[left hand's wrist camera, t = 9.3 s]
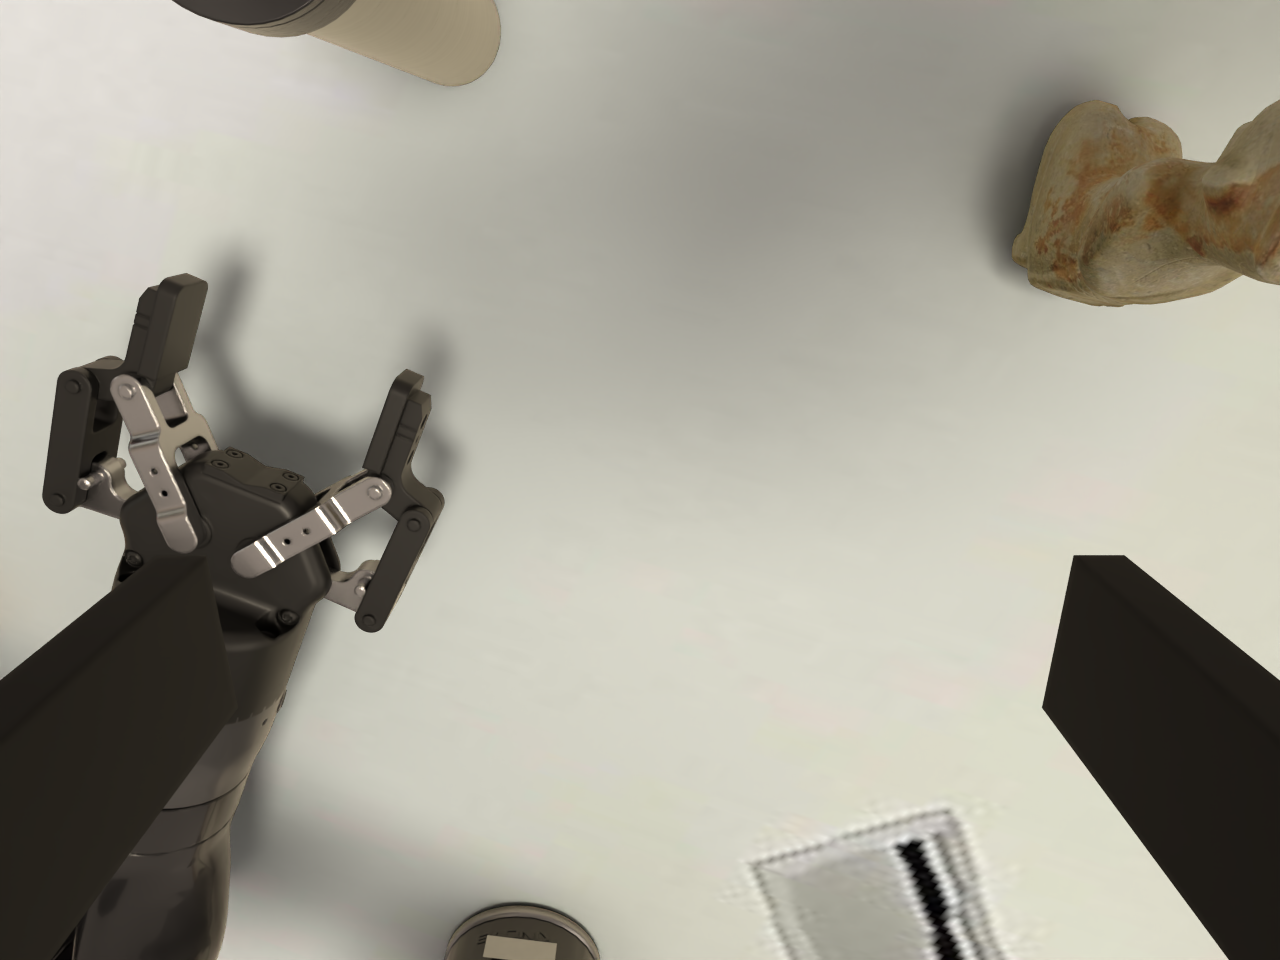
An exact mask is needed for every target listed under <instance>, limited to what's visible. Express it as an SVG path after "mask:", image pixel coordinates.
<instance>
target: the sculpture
mask: <svg viewBox="0 0 1280 960" xmlns="http://www.w3.org/2000/svg"><path fill="white" fill-rule="evenodd" d="M1012 258H1013V260H1014V261H1015V262H1016V263H1017V264H1019V265H1020V266H1022V267H1025V268H1027V269H1028V280H1029V282H1030V284H1031V285H1033V286H1034V287H1036V288H1038V289H1041V290H1043V291H1046V292H1049V293H1051V294H1054V295H1056V296H1059V297H1062V298H1066V299H1070V300H1073V301H1077V302H1081V303H1085V304H1088V305H1093V306H1108V307H1109V306H1112V307H1122V306H1124V305H1129V304H1158V303H1166V302H1170V301H1175V300H1180V299H1185V298H1190V297H1195V296H1199V295H1203V294H1206V293H1210V292H1213V291H1215V290H1217V289H1219V288H1221V287H1223V286H1224V285H1226V284H1228V283H1230V282H1231V281H1233V280H1235V279H1236V278H1238V277H1240V276H1241V275H1245V276H1248V277H1250V278H1253V279H1255V280H1258V281H1261V282H1265V283H1270V284H1276V285H1280V100H1278V101H1276V102H1275V103H1273V104H1271V105H1270V106H1268V107H1266V108H1265V109H1264V110H1263V111H1262V112H1261V113H1260V114H1259V115H1258V116H1257V117H1256V118H1255V119H1254V120H1253V121H1251V122H1248V123H1245V124H1243V125H1242V126H1240V127H1239V128H1238V129H1237V130H1236V132H1235V133H1234V135H1233V136H1232V138H1231V140H1230V141H1229V143H1228V145H1227V146H1226V148H1225V149H1224V151H1223V153H1222V154H1221V156H1220V157H1219V159H1218V160H1217V162H1216V163H1205V162H1198V161H1191V160H1186V159H1182V148H1181V142H1180V140H1179V138H1178V136H1177V135H1176V134H1175V133H1174V131H1173V130H1172V129H1171V128H1169V127H1168V126H1167V125H1166V124H1164V123H1162V122H1159V121H1157V120H1155V119H1152V118H1149V117H1136V118H1131V119H1129V120H1127V119H1126V118H1125V117H1124V116H1123V114H1122V113H1121V112H1120V110H1119V108H1118V107H1117V106H1116V105H1113V104H1109V103H1106V102H1103V101H1099V100H1093V101H1089V102H1085V103H1082V104H1080V105H1077V106H1076V107H1074V108H1073V109H1072V110H1070V111H1069V112H1068V113H1067V114H1066V115H1065V116H1064V117H1063V118H1062V119H1061V121H1060V122H1059V123H1058V124H1057V126H1056V127H1055V129H1054V130H1053V132H1052V134H1051V135H1050V137H1049V140H1048V142H1047V144H1046V147H1045V149H1044V152H1043V156H1042V159H1041V163H1040V166H1039V170H1038V173H1037V177H1036V181H1035V184H1034V188H1033V192H1032V197H1031V203H1030V208H1029V212H1028V216H1027V219H1026V223H1025V226H1024V229H1023V231H1022V233H1020V234H1018V235H1017V236H1016V238H1015V239H1014V243H1013V247H1012Z"/></svg>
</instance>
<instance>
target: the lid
mask: <svg viewBox="0 0 1280 960" xmlns="http://www.w3.org/2000/svg"><path fill="white" fill-rule="evenodd" d="M172 1H174V2H175V3H177V4H178V5H180V6H181V7H183V8H185V9H187V10H189V11H191V12H193V13H195V14H197V15H199V16H202V17H205V18H207V19H210V20H213V21H216V22H219V23H222V24H225V25H228V26H231V27H234V28H237V29H240V30H243V31H246V32H249V33H253V34H257V35H262V36H268V37H292V36H299V35H303V34H307V33H311V32H313V31H316V30H318V29H321V28H323V27H325V26H327V25H328V24H330V23H332V22H333V21H335V20H336V19H338V18H339V17H340V16H341V15H342V14H344V13H345V12H346V11H347V10H348V9H349V8H350V7H351V6H352V5H353V3H354V2H355V1H356V0H172Z"/></svg>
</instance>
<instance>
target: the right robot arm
mask: <svg viewBox="0 0 1280 960" xmlns="http://www.w3.org/2000/svg"><path fill="white" fill-rule="evenodd" d="M207 290H208V284H207V282H206V281H204V280H202V279H199V278H197V277H195V276H192V275H190V274H188V273H184V274H180V275H176V276H172V277H167V278H165V279H164V280H163V281H162V282H161V283H160V285H157V286H153V287H148V288H147V290H146V291H145V292H144V293H143V294H142V296H141V297H140V298H139V302H138V306H137V311H136V312H137V314H136V315H135V319H134V325H133V328H132V332H131V337H130V341H129V345H128V349H127V354H126V358H125V360H124V361H123V360H122V359H120V358H118V357H115V356H106V357H103V358H100V359H98V360H96V361H95V362H92V363H89V364H86V365H83V366H80V367H75V368H72V369H69V370H66V371H64V372H62V373H61V374H60V375H59V377H58V380H57V387H56V394H55V402H54V410H53V417H52V425H51V432H50V440H49V448H48V455H47V463H46V471H45V478H44V486H43V493H42V498H43V501H44V503H45V505H46V506H47V507H48V508H49V509H50V510H52V511H53V512H56V513H59V514H66V513H68V512H70V511H72V510H74V509H75V508H77V507H84V508H87V509H90V510H93V511H96V512H99V513H102V514H105V515H108V516H111V517H114V518H117V519H120V524H121V527H122V530H123V533H124V537H125V550H124V553H123V556H122V558H121V561H120V563H119V566H118V569H117V572H116V575H115V578H114V582H113V586H112V590H113V589H115V588H116V587H117V586H118V585H119V584H121V583H122V582H123V581H124V580H126V579H127V578H128V577H129V576H131V575H132V574H133V573H134V572H136V571H137V570H138V569H139V568H141V567H142V566H143V565H144V564H146V563H147V562H148V561H149V560H151V559H152V558H153V557H154V556H155V555H206V556H207V561H208V566H209V571H210V576H211V580H212V585H213V590H214V595H215V600H216V605H217V609H218V614H219V619H220V624H221V629H222V633H223V638H224V643H225V648H226V653H227V658H228V662H229V667H230V672H231V677H232V682H233V686H234V691H235V696H236V701H237V706H238V708H237V710H236V711H235V712H234V714H233V715H232V716H231V718H230V719H229V720H228V722H227V723H226V724H225V726H224V727H223V728H222V730H221V731H220V733H219V734H218V735H217V737H216V738H215V739H214V741H213V742H212V743H211V745H210V746H209V747H208V749H207V750H206V751H205V753H204V754H203V755H202V757H201V758H200V760H199V761H198V762H197V764H196V765H195V766H194V768H193V769H192V770H191V772H190V773H189V774H188V776H187V777H186V778H185V780H184V781H183V782H182V784H181V785H180V786H179V788H178V789H177V791H176V792H175V793H174V795H173V796H172V797H171V799H170V800H169V801H168V803H167V804H166V805H165V807H164V808H163V809H162V811H161V812H160V813H159V815H158V816H157V818H156V819H155V820H154V822H153V823H152V824H151V826H150V827H149V828H148V830H147V831H146V832H145V834H144V835H143V836H142V838H141V839H140V840H139V842H138V843H137V844H136V846H135V847H134V849H133V850H132V851H131V853H130V854H129V855H128V857H127V858H126V859H125V861H124V862H123V863H122V865H121V866H120V867H119V869H118V870H117V871H116V873H115V874H114V876H113V877H112V878H111V880H110V881H109V882H108V884H107V885H106V886H105V888H104V889H103V890H102V892H101V893H100V894H99V896H98V897H97V898H96V900H95V901H94V902H93V904H92V905H91V907H90V908H89V909H88V911H87V912H86V913H85V915H84V916H83V917H82V919H81V920H80V921H79V923H78V924H77V925H76V927H75V928H74V929H73V931H72V932H71V934H70V935H69V936H68V938H67V939H66V940H65V942H64V943H63V944H62V946H61V947H60V948H59V950H58V951H57V952H56V954H55V955H54V956H53V958H52V959H51V960H217V958H218V955H219V952H220V950H221V946H222V942H223V938H224V933H225V929H226V922H227V913H228V899H229V882H230V866H231V850H230V825H231V821H232V818H233V816H234V814H235V811H236V809H237V807H238V804H239V801H240V798H241V795H242V792H243V790H244V787H245V784H246V781H247V778H248V775H249V773H250V770H251V767H252V764H253V762H254V759H255V757H256V756H257V754H258V752H259V751H260V749H261V747H262V745H263V743H264V741H265V740H266V738H267V736H268V734H269V732H270V729H271V727H272V724H273V722H274V719H275V716H276V714H277V713H278V711H279V709H280V708H281V707H282V705H283V702H284V699H285V695H286V691H287V690H286V685H287V683H288V680H289V677H290V674H291V671H292V669H293V666H294V662H295V660H296V657H297V654H298V651H299V648H300V646H301V643H302V640H303V637H304V635H305V632H306V629H307V626H308V623H309V621H310V618H311V615H312V612H313V609H314V607H315V604H316V603H317V602H319V601H320V600H322V599H323V598H326V599H328V600H330V601H333V602H335V603H337V604H339V605H342V606H344V607H346V608H348V609H351V610H353V611H355V612H356V614H355V622H356V624H357V626H358V627H359V628H360V629H361V630H363V631H365V632H370V633H373V632H377V631H379V630H380V629H381V628H382V627H383V626H384V624H385V622H386V620H387V619H388V617H389V615H390V614H391V612H392V610H393V608H394V607H395V605H396V603H397V601H398V600H399V598H400V596H401V594H402V592H403V590H404V588H405V586H406V584H407V582H408V580H409V578H410V575H411V573H412V571H413V569H414V567H415V565H416V563H417V561H418V559H419V557H420V555H421V553H422V551H423V548H424V546H425V544H426V542H427V540H428V538H429V536H430V534H431V532H432V530H433V528H434V526H435V524H436V522H437V519H438V517H439V515H440V513H441V511H442V509H443V507H444V503H445V502H444V497H443V495H442V494H441V493H440V492H439V491H438V490H437V489H434V488H431V487H427V488H426V487H425V486H424V485H423V484H422V483H420V482H419V481H418V480H417V479H416V478H415V476H414V475H413V473H412V469H411V462H412V459H413V456H414V453H415V451H416V448H417V445H418V443H419V440H420V437H421V435H422V432H423V429H424V427H425V424H426V421H427V419H428V416H429V413H430V411H431V395H429V394H427V393H425V392H422V391H420V389H421V386H422V384H423V380H424V376H422V375H420V374H418V373H415V372H413V371H411V370H408V369H406V370H405V371H403V372H402V373H401V374H400V375H399V376H397V377H396V379H395V380H394V382H393V384H392V386H391V388H390V390H389V393H388V396H387V399H386V401H385V404H384V407H383V410H382V413H381V415H380V418H379V421H378V424H377V427H376V430H375V432H374V435H373V438H372V441H371V444H370V446H369V449H368V452H367V455H366V458H365V461H364V463H363V466H362V468H364V470H362V471H360V472H359V473H357V474H355V475H353V476H348V477H345V478H344V479H342V480H340V481H338V482H336V483H334V484H332V485H331V486H329V487H327V488H325V489H323V490H321V491H319V492H318V493H316V494H314V493H313V492H312V490H311V489H310V488H309V487H308V486H307V485H306V484H304V483H303V480H304V477H303V476H301V475H298V474H296V473H293V472H291V471H288V470H285V469H279V468H273V467H267V466H265V465H263V464H262V463H260V462H259V461H257V460H256V459H254V458H253V457H251V456H250V455H249V454H246V453H244V452H241V451H239V450H236V449H234V448H232V447H229V448H227V449H226V450H224V451H223V450H219V449H218V447H217V444H216V442H215V440H214V437H213V435H212V433H211V430H210V428H209V426H208V423H207V421H206V419H205V418H204V417H203V416H202V415H201V414H198V413H196V412H195V411H194V409H193V407H192V405H191V402H190V400H189V398H188V395H187V393H186V391H185V388H184V386H183V384H182V382H181V379H180V377H179V375H178V372H179V371H181V370H184V369H186V368H187V367H188V363H189V359H190V355H191V352H192V348H193V344H194V340H195V336H196V332H197V329H198V325H199V321H200V317H201V313H202V309H203V306H204V302H205V298H206V294H207ZM123 420H124V422H125V424H126V426H127V429H128V431H129V433H130V436H131V440H130V442H129V446H128V449H129V454H130V456H131V458H132V460H133V463H134V465H135V467H136V469H137V471H138V473H139V475H140V477H141V480H142V482H143V484H144V486H145V487H144V488H143V489H142V490H140V491H135V490H134V489H132V488H131V487H130V486H129V485H128V483H127V482H126V479H125V470H124V468H125V467H126V462H125V460H123V459H122V458H116V457H117V451H118V445H119V439H120V433H121V427H122V421H123ZM178 447H180V449H181V451H182V453H183V456H184V458H185V460H186V463H184V464H182V465H181V466H179V467H178V466H177V464H176V461H175V451H176V449H177V448H178ZM380 507H382V508H383V509H384V510H385V511H386V512H388V513H389V514H390V515H391V516H393V517H394V518H395V519H396V520H397V521H398V523H397V525H396V527H395V530H394V532H393V534H392V536H391V538H390V540H389V543H388V545H387V547H386V549H385V551H384V553H383V555H382V558H381V560H367V561H364V562H363V563H362V564H361V565H360V566H359V568H358V569H357V570H355V571H353V572H343V571H340V569H341V567H340V561H339V558H338V555H337V552H336V550H335V547H334V544H333V542H332V539H331V536H332V535H334V534H336V533H337V532H339V531H340V530H342V529H343V528H344V527H345V526H347V525H348V524H350V523H351V522H353V521H355V520H357V519H359V518H361V517H363V516H365V515H367V514H368V513H370V512H372V511H374V510H376V509H378V508H380ZM112 590H111V591H112ZM444 960H600V958H599V954H598V951H597V948H596V946H595V944H594V942H593V941H592V939H591V938H590V936H589V935H588V934H587V933H586V932H585V931H584V930H583V929H582V928H581V927H580V926H579V925H577V924H576V923H575V922H573V921H572V920H570V919H568V918H566V917H565V916H563V915H560V914H558V913H556V912H553V911H550V910H546V909H543V908H538V907H531V906H505V907H499V908H494V909H490V910H487V911H484V912H482V913H480V914H477V915H475V916H474V917H472V918H470V919H469V920H467V921H466V922H465V923H463V924H462V925H461V926H460V927H459V928H458V929H457V930H456V931H455V933H454V934H453V936H452V938H451V939H450V941H449V944H448V947H447V951H446V955H445V959H444Z"/></svg>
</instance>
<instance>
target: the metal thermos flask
mask: <svg viewBox="0 0 1280 960" xmlns="http://www.w3.org/2000/svg"><path fill="white" fill-rule="evenodd" d="M307 34H308V35H311V36H314V37H316V38H319V39H321V40H324V41H327V42H329V43H332V44H334V45H337V46H340V47H342V48H345V49H347V50H350V51H353V52H355V53H358V54H360V55H363V56H366V57H368V58H371V59H374V60H376V61H379V62H381V63H384V64H387V65H389V66H392V67H394V68H397V69H400V70H402V71H405V72H407V73H410V74H413V75H415V76H418V77H420V78H423V79H426V80H428V81H431V82H434V83H436V84H439V85H444V86H460V85H464V84H468V83H470V82H472V81H474V80H476V79H478V78H479V77H480V76H481V75H483V74H484V73H485V72H486V71H487V70H488V68H489V67H490V65H491V64H492V62H493V61H494V59H495V57H496V54H497V51H498V48H499V44H500V36H501V26H500V19H499V14H498V11H497V8H496V5H495V3H494V1H493V0H356V1H355V2H354V3H353V5H352V6H351V7H350V8H349V9H348V10H347V11H346V12H345V13H344V14H342V15H341V16H340V17H339V18H338V19H336V20H335V21H333V22H332V23H330V24H328V25H327V26H325V27H323V28H321V29H318V30H316V31H313V32H311V33H307Z"/></svg>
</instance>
